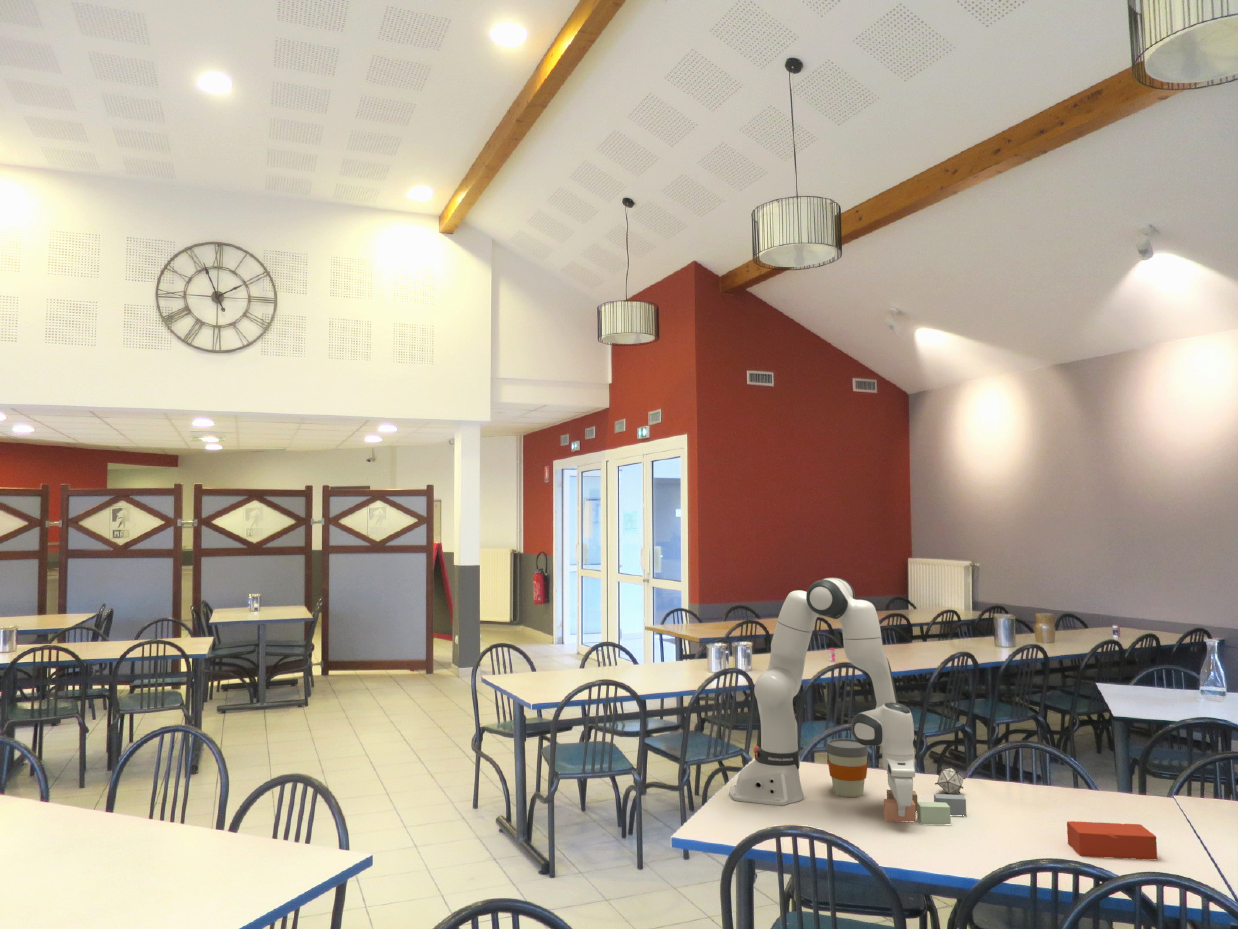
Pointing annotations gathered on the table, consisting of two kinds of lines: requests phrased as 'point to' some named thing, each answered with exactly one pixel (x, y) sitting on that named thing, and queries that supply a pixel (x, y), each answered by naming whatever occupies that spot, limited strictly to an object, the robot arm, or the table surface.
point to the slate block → (953, 803)
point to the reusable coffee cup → (847, 766)
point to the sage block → (933, 813)
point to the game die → (950, 780)
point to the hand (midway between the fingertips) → (899, 812)
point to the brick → (1111, 840)
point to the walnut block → (914, 797)
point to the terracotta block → (892, 811)
